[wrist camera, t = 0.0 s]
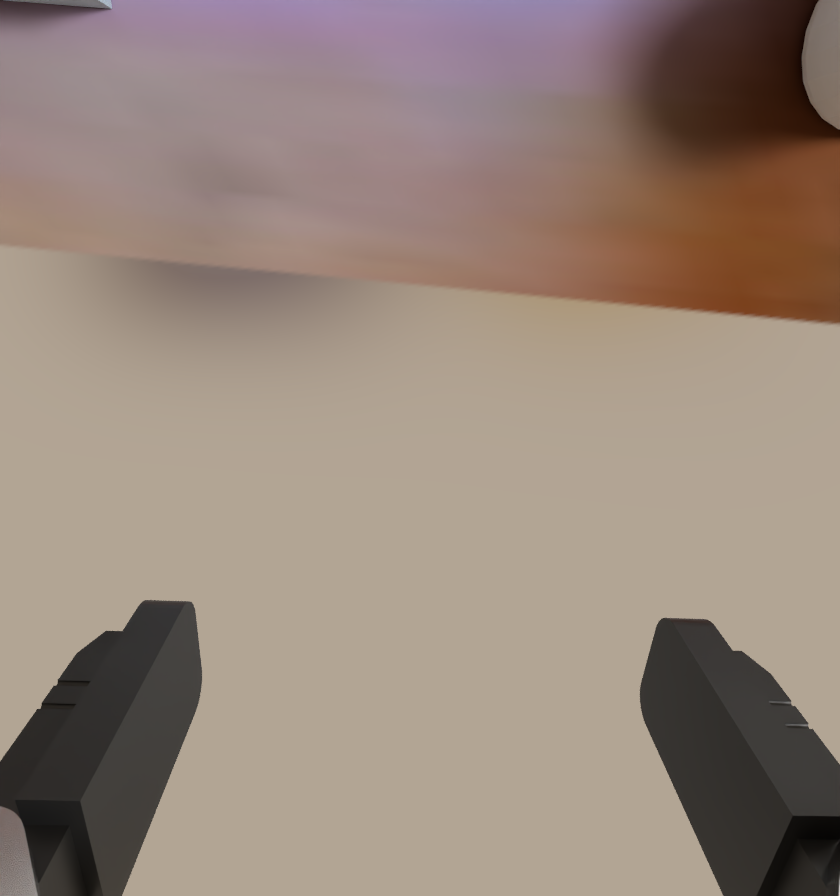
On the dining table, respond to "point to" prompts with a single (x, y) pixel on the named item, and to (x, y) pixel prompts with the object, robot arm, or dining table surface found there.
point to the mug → (823, 60)
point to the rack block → (73, 2)
